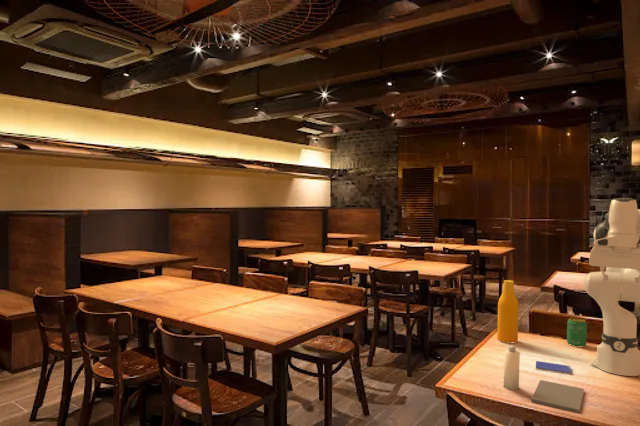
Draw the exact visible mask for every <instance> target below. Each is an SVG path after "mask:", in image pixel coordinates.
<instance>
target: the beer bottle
mask: <svg viewBox="0 0 640 426" xmlns="http://www.w3.org/2000/svg"><path fill="white" fill-rule="evenodd" d="M502 285H503V286H502V293H501V295H500V297H499V299H498V303H497V330H496V331H497V333H496V334H497V335H496V338H497V340H498V341H499V340H500V341H504V342H516V343H518V338H519V335H518V334H519V307H520V306H519V300H518V299H517V296H516V294H515V283H514V280H510V279H508V280H507V279H505V280H503V284H502ZM500 341H499V342H500ZM504 342H503V343H504Z"/></svg>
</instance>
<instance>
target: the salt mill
mask: <svg viewBox="0 0 640 426" xmlns="http://www.w3.org/2000/svg"><path fill="white" fill-rule="evenodd" d="M520 355H521V354H520V351H519V350H517V347H516V346H514V345H509V346H508V348H506V349H504V358H503V359H504V361H503V388H504V389H506V390H509V391H517V390H519V389H520V361H521V359H520Z"/></svg>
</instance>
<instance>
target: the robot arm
mask: <svg viewBox="0 0 640 426" xmlns="http://www.w3.org/2000/svg"><path fill="white" fill-rule="evenodd" d="M604 216H605V219H604V220H603V222H599V223H598V224H597V225H596V226H595V228H594V230H593V233H592V235H593V240H594V241H593V245H594V246H593V247H592V249H590V254H589V258H588V259H589V260H588V264H589V266H591V267H599V269H600V271H590V272H589V273H588V274H587V275H586V276H585V277H584V280H583V288H584V290H585V292H586V293H587V295H589V296H590V297H591V298H592V299H594V301H595V302H596V303H597V305H598V306H599V307H600V310H601V313H602V321H603V327H602V328H603V331H602V333H601V343H600V344H598V345H597V347H596V358H595V359H594V360H592V361H591V363H590V365H591V366H593V367H596V368H597V369H600V370H602V371H603V372H606V373H610V374H613V375H618V376H625V377H627V376H628V377H637V376H640V350H639V348H638V346H639V345H638V343H639V341H638V337H637V329H638V327H637V325H638V321H637V317H636V316H635V315H634V314H633V313H632V312H631V311H629V310H628V309H626V308H624V307H622V306H621V305H620V304H619V301H622V302H630V303H631V302H632V303H640V208H638V204H637V199H636V198H635V199H634V198H631V197H630V198H629V197H617V198H612V199H611V201H610V205H609V211H608V212H607V213H605V214H604Z"/></svg>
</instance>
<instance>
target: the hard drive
mask: <svg viewBox="0 0 640 426" xmlns="http://www.w3.org/2000/svg"><path fill="white" fill-rule="evenodd" d="M535 370H537V371H543V372H544V371H545V372H550V373H558V374H562V375H563V374H565V375H572V371H571V366H570V365H565V364H559V363H553V362H545V361H537V360H536V361H535Z"/></svg>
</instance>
